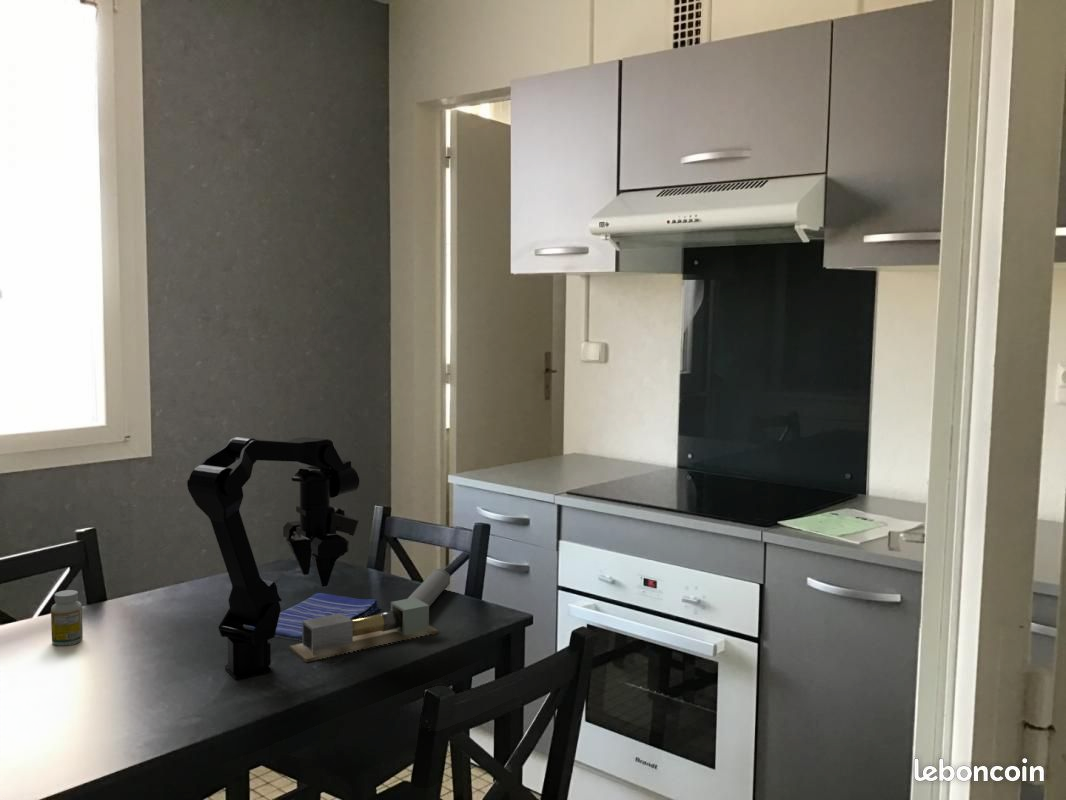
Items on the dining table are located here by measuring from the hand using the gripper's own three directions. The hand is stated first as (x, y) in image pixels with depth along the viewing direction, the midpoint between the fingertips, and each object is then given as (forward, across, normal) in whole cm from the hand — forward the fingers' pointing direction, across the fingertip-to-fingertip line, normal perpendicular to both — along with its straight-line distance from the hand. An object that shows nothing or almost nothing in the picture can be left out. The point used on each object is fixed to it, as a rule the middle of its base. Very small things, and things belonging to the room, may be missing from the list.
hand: (315, 580), depth 176 cm
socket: (+12, -6, -18) cm, 22 cm away
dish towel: (+13, +11, -5) cm, 18 cm away
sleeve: (+12, -6, 0) cm, 13 cm away
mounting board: (+12, -6, -8) cm, 16 cm away
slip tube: (+11, -6, -10) cm, 16 cm away
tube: (+12, +7, -28) cm, 32 cm away
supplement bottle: (+12, +25, +40) cm, 49 cm away
